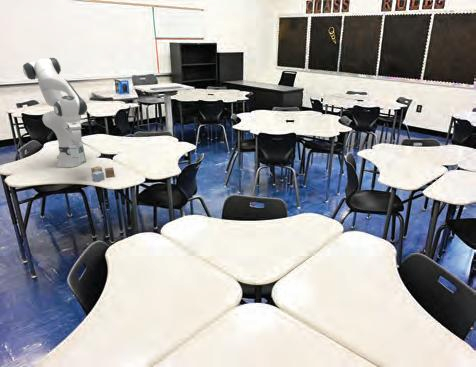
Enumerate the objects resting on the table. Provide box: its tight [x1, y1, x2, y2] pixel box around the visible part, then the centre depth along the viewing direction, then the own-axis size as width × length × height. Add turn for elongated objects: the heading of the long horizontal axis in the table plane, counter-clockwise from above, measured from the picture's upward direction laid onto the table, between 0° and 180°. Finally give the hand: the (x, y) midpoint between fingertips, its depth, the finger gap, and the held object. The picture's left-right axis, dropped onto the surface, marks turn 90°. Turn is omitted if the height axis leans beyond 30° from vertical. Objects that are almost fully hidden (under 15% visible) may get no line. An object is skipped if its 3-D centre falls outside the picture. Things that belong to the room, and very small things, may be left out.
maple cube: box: [90, 165, 104, 173], centre depth 229 cm, size 5×5×5 cm
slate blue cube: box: [91, 171, 105, 183], centre depth 220 cm, size 5×5×5 cm
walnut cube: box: [104, 167, 116, 179], centre depth 226 cm, size 5×5×5 cm
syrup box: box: [69, 140, 87, 166], centre depth 217 cm, size 6×6×14 cm
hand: (76, 146), depth 215 cm, fingers closed on syrup box, 8 cm apart
